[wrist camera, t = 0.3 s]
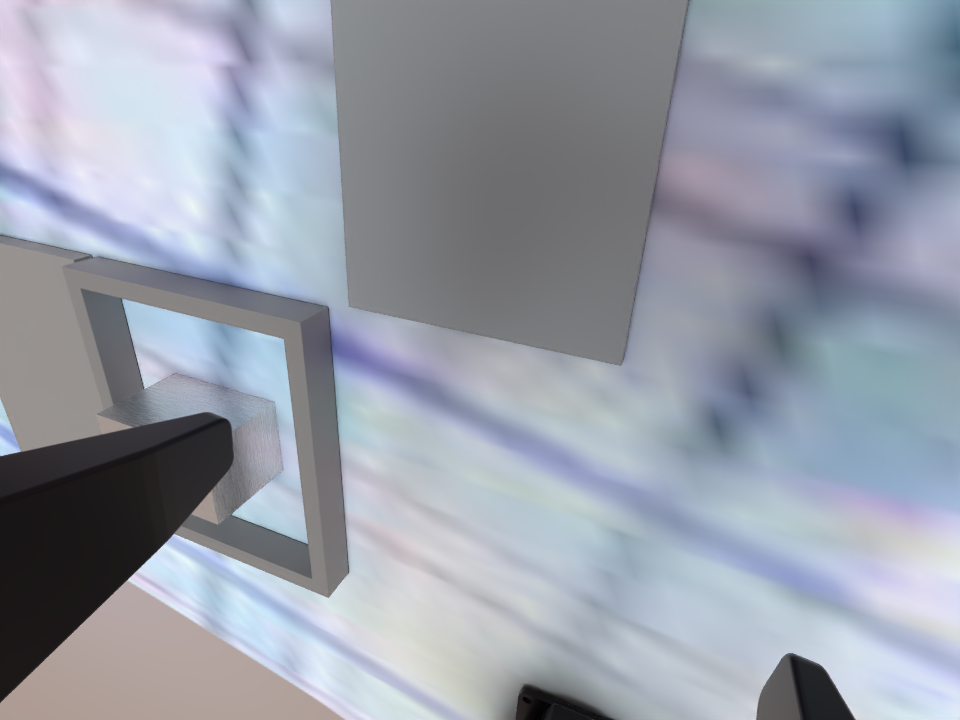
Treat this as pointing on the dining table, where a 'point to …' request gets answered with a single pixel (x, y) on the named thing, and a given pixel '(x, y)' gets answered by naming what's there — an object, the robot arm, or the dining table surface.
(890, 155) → the dining table surface
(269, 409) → the block
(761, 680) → the dining table surface
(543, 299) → the slate mat
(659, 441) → the dining table surface
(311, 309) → the gray rectangular frame
